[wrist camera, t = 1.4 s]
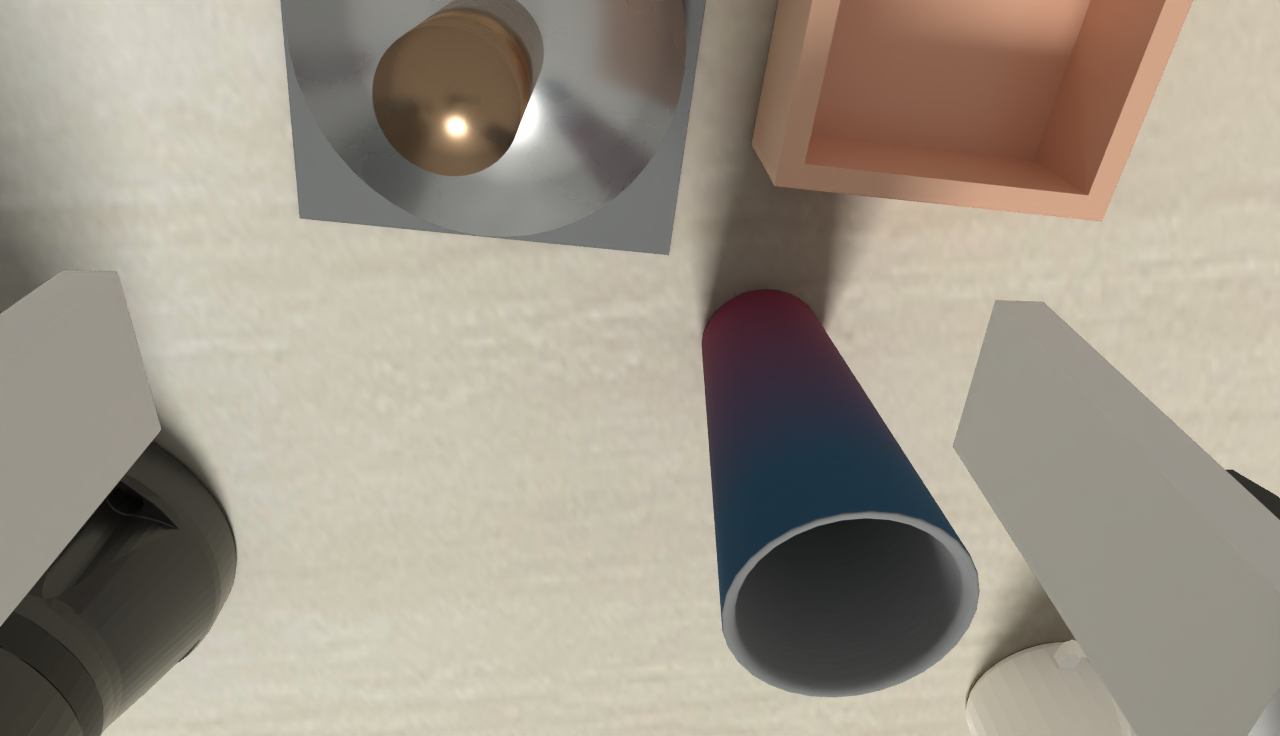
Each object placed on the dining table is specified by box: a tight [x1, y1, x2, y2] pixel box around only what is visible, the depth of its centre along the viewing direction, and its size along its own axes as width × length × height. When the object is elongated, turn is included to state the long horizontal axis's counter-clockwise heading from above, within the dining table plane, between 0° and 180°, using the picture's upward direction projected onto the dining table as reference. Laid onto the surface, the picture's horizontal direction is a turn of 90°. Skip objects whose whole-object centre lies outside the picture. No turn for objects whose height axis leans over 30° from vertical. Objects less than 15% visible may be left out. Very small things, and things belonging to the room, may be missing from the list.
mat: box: [281, 0, 706, 255], centre depth 28 cm, size 14×14×1 cm
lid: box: [285, 0, 686, 237], centre depth 24 cm, size 13×13×9 cm
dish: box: [751, 0, 1193, 221], centre depth 26 cm, size 11×11×5 cm
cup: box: [702, 290, 979, 697], centre depth 28 cm, size 7×7×15 cm
